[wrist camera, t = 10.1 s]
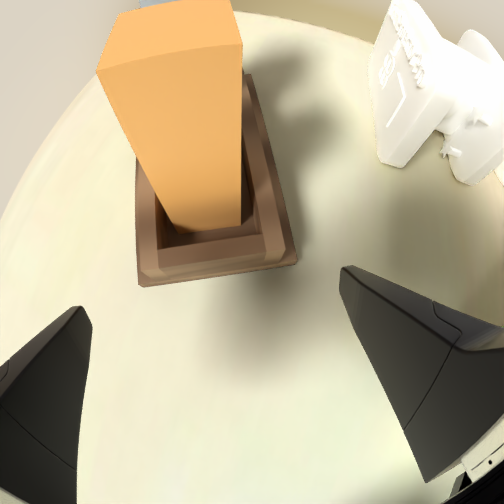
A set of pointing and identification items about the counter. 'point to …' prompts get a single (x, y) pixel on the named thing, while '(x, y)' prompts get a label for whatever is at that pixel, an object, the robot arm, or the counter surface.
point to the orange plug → (181, 105)
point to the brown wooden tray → (223, 239)
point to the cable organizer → (436, 93)
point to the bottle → (500, 173)
